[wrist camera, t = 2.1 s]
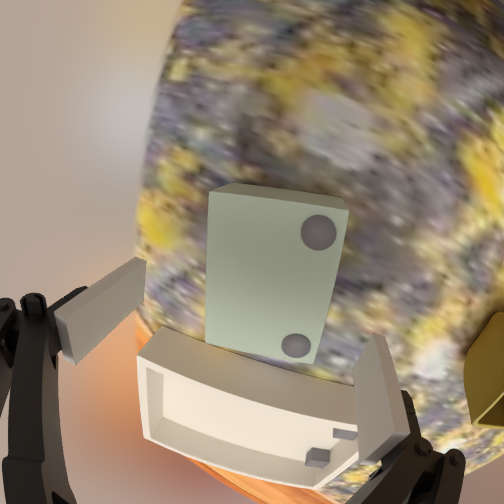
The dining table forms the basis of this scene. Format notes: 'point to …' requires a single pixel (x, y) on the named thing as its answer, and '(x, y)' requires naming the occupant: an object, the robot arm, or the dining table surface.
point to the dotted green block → (271, 268)
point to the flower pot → (486, 376)
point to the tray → (244, 412)
